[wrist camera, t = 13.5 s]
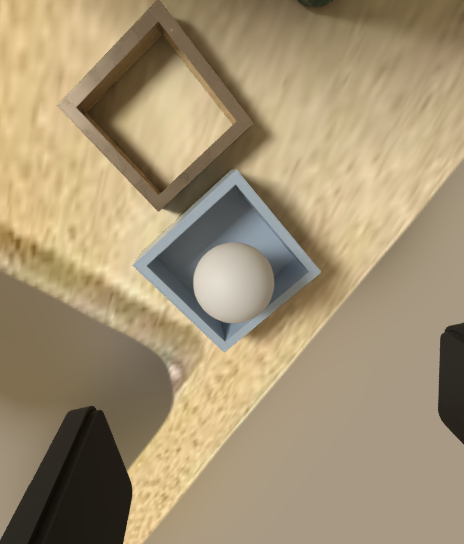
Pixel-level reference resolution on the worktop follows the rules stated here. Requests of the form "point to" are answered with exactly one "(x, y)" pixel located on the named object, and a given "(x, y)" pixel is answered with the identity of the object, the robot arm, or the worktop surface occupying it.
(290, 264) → the box
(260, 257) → the lightbulb
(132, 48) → the socket collar
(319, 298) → the worktop surface
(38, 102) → the worktop surface
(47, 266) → the worktop surface
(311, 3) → the coffee jar
